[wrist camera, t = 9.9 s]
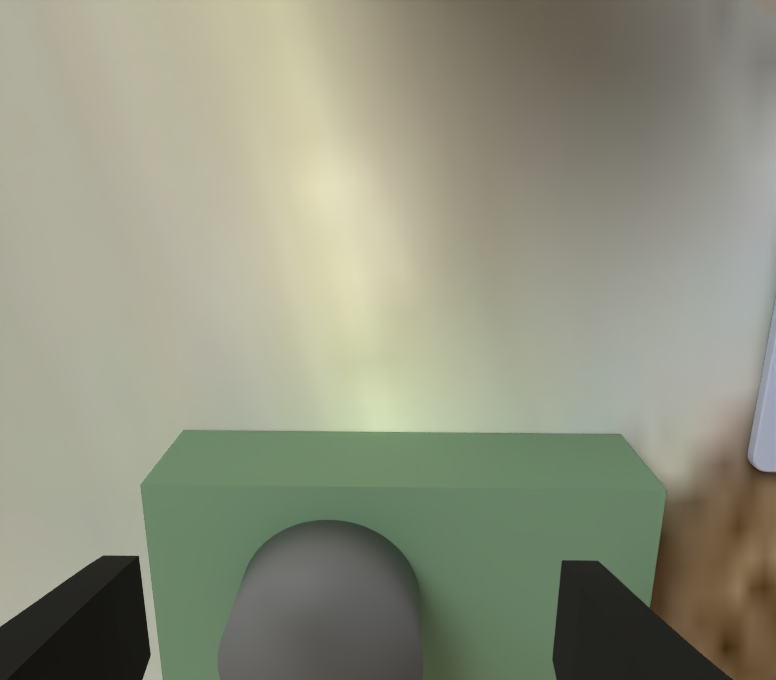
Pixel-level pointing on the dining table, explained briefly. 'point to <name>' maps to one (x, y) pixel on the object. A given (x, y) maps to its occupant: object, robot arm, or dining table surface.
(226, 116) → the dining table surface
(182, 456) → the green block with prongs
